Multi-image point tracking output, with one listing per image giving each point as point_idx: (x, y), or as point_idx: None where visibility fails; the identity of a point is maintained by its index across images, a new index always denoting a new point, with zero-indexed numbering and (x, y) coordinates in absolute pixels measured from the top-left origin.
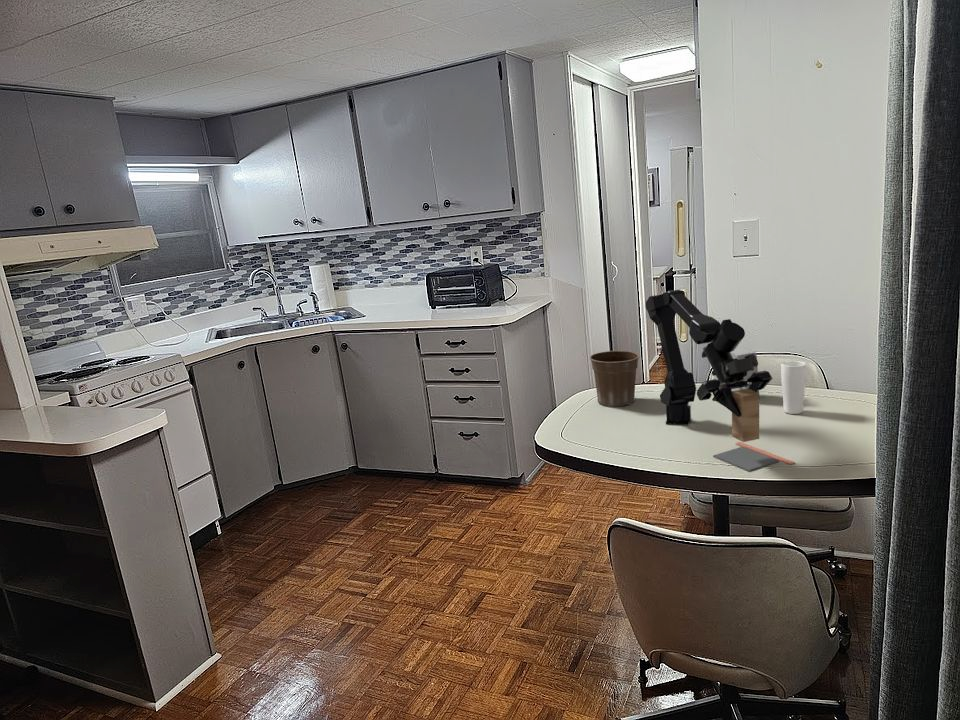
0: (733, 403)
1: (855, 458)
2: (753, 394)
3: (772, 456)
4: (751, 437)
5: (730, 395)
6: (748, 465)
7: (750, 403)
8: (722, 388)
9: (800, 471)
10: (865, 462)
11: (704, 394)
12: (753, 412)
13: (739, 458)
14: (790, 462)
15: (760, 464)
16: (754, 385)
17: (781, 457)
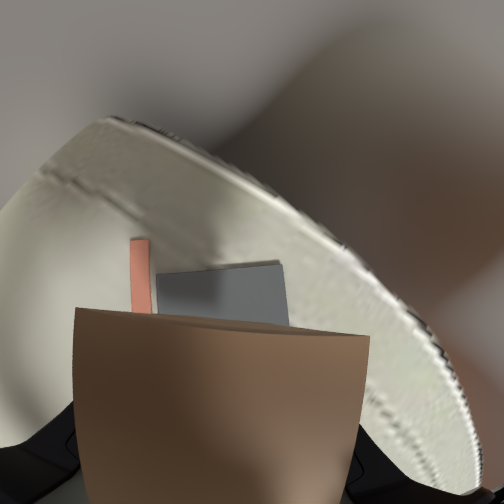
0: None
1: (29, 196)
2: (172, 325)
3: (148, 310)
4: (223, 319)
5: (368, 489)
6: (259, 292)
7: (231, 325)
8: (490, 498)
9: (163, 194)
10: (36, 171)
11: (497, 488)
12: (202, 320)
13: None
14: (141, 246)
15: (224, 278)
16: (14, 481)
17: (133, 288)
